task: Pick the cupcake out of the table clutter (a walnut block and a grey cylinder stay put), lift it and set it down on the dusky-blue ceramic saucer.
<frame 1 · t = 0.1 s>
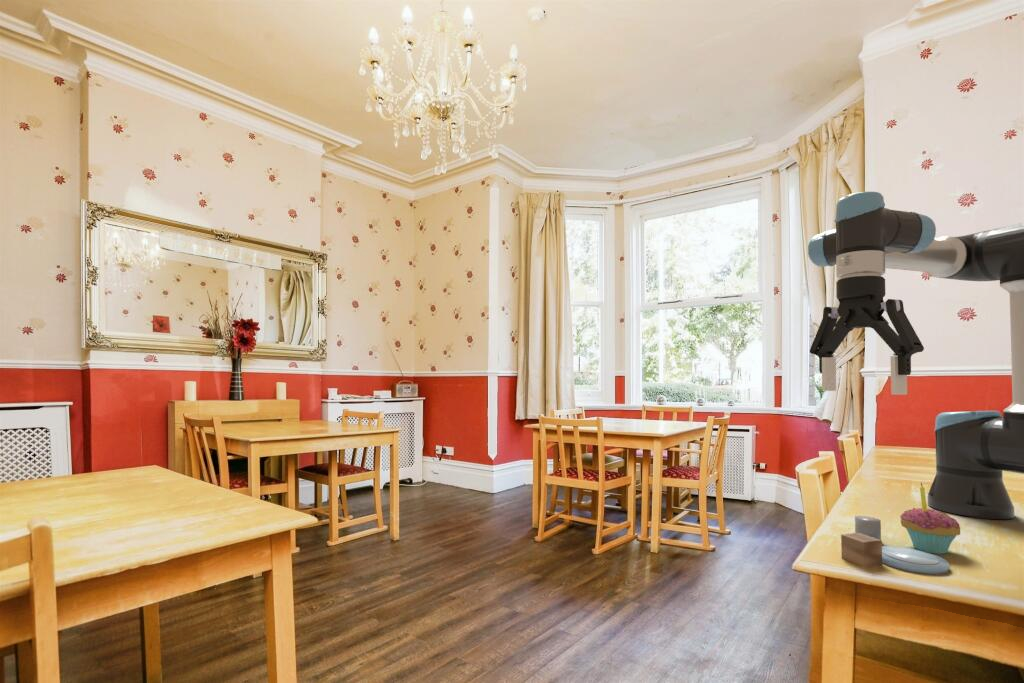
hand: (861, 392, 95), 28 cm above the table, fingers open, 13 cm apart
cupcake: (929, 550, 93), on the table
saucer: (909, 562, 86), on the table
grey cylinder: (868, 540, 97), on the table
walnut block: (861, 561, 86), on the table
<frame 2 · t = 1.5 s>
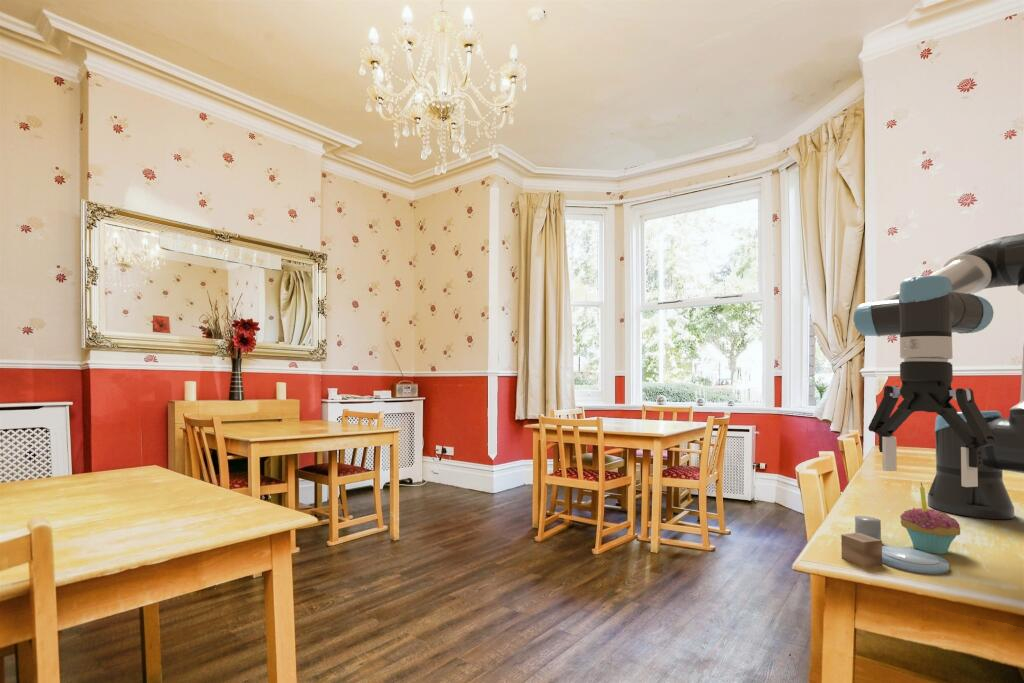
hand: (926, 478, 93), 13 cm above the table, fingers open, 13 cm apart
nothing on the table moved.
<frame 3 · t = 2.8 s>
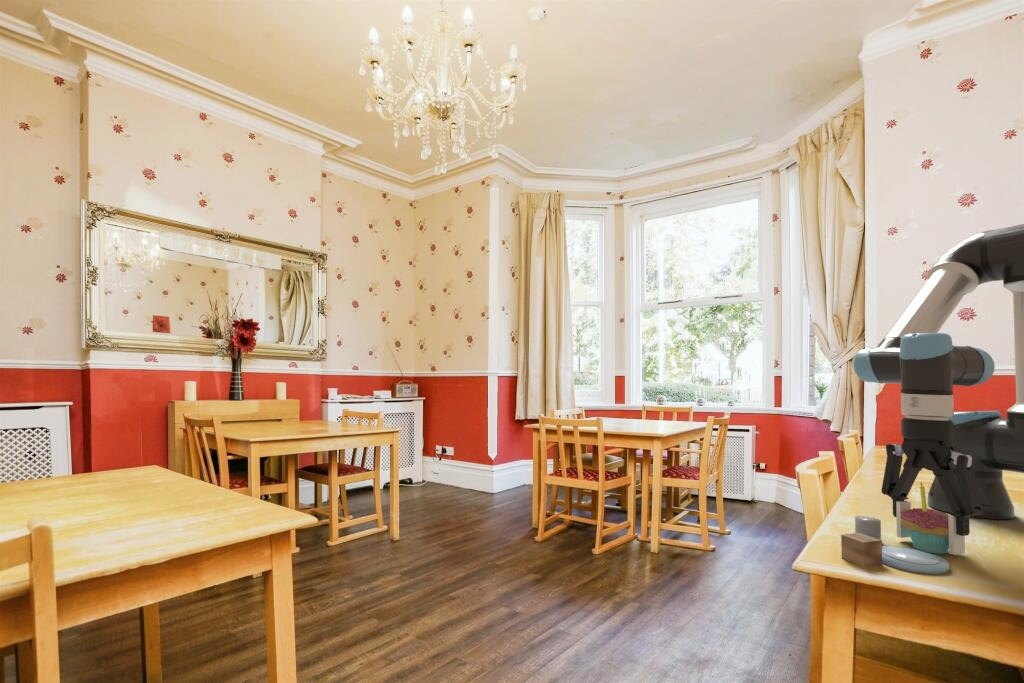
hand: (929, 544, 93), 1 cm above the table, fingers closed on cupcake, 8 cm apart
cupcake: (929, 550, 93), on the table, touching gripper
everything else where it was.
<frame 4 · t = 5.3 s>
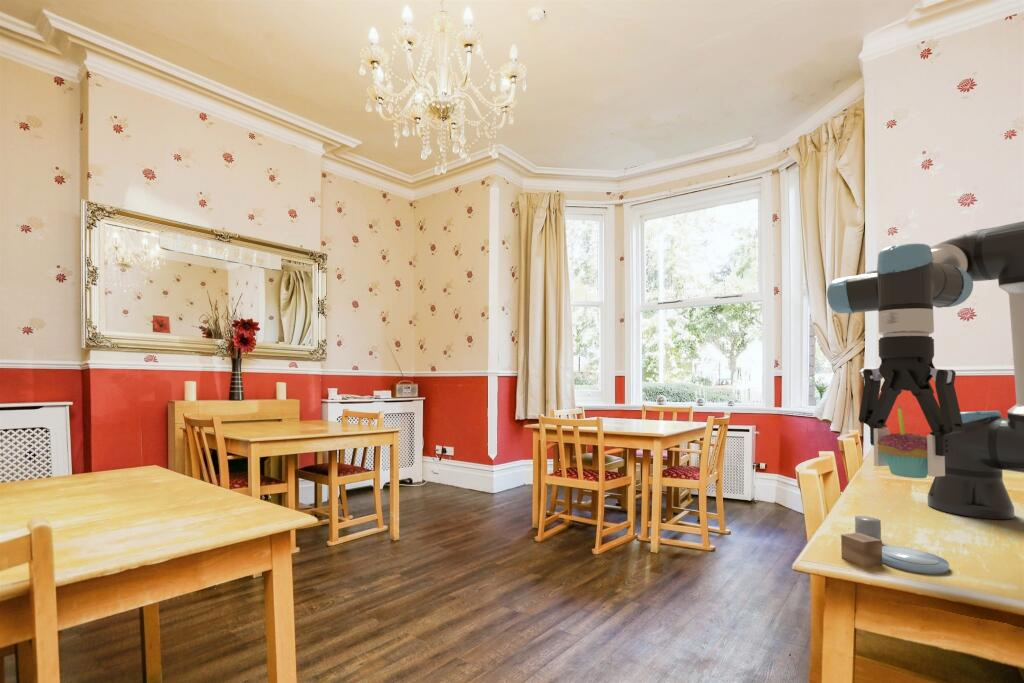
hand: (907, 470, 87), 15 cm above the table, fingers closed on cupcake, 8 cm apart
cupcake: (908, 476, 87), point 14 cm above the table, touching gripper
everything else where it was.
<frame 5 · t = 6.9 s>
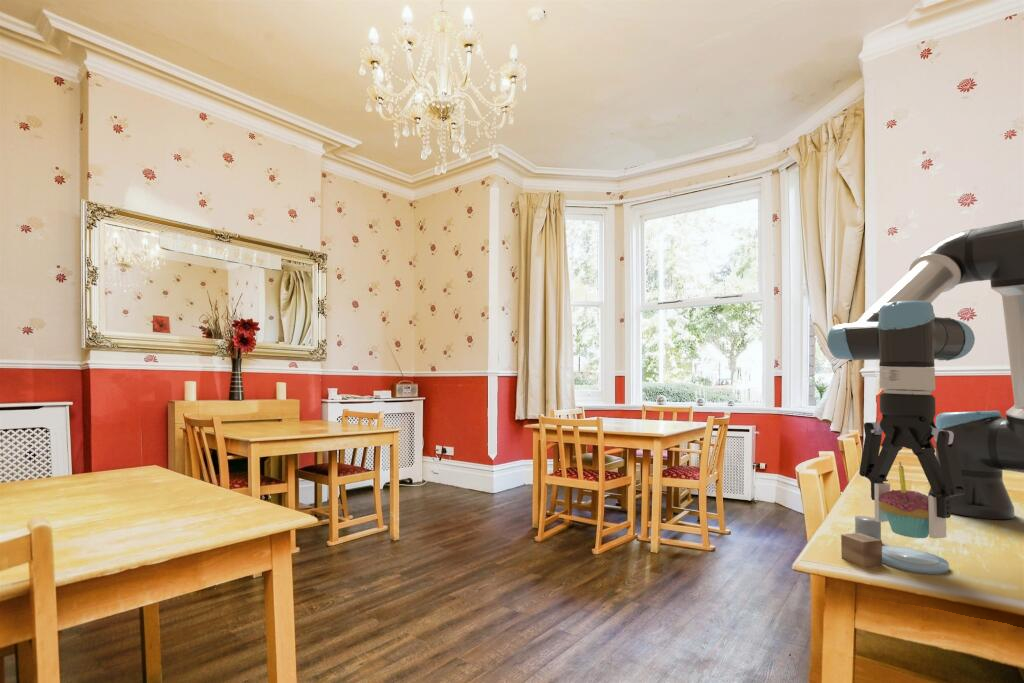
hand: (908, 528, 86), 6 cm above the table, fingers closed on cupcake, 8 cm apart
cupcake: (908, 534, 86), point 5 cm above the table, touching gripper
everything else where it was.
when the fingers open (3 cm above the table, at t = 7.9 s): cupcake drops 1 cm, resting on saucer.
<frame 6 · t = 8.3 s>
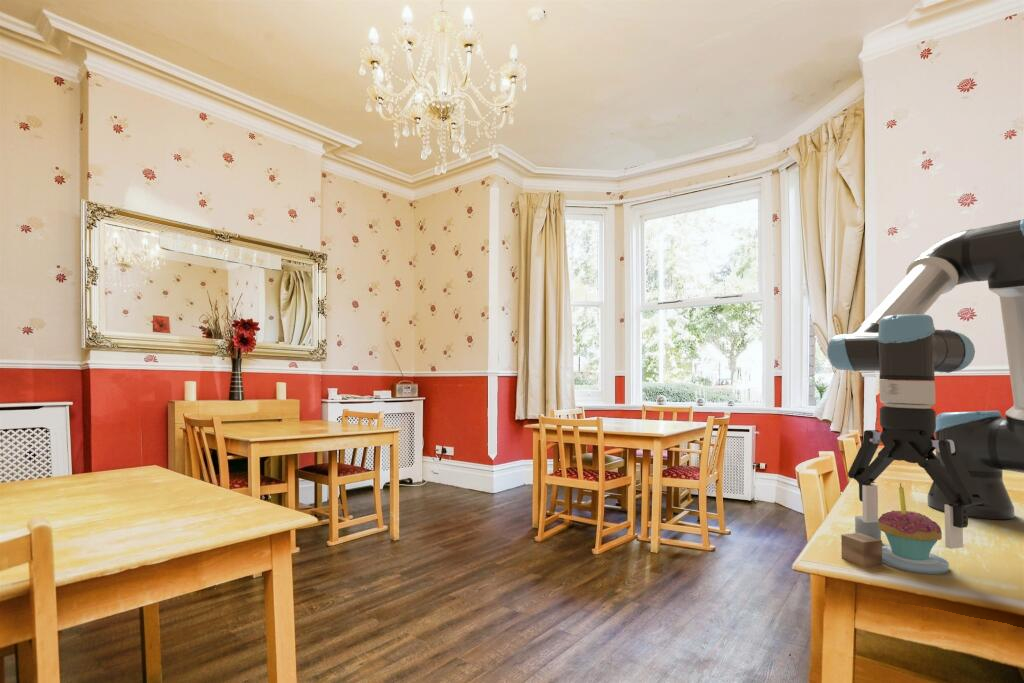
hand: (909, 533, 86), 5 cm above the table, fingers open, 13 cm apart
cupcake: (909, 555, 86), point 1 cm above the table, touching saucer
everything else where it was.
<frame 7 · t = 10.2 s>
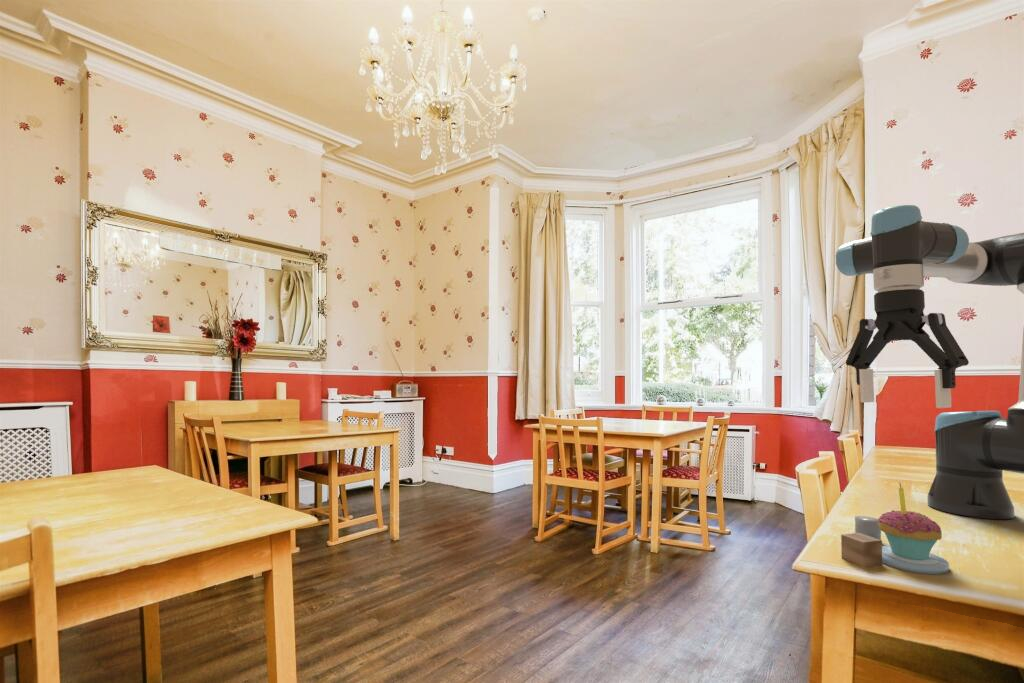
hand: (903, 404, 95), 26 cm above the table, fingers open, 13 cm apart
nothing on the table moved.
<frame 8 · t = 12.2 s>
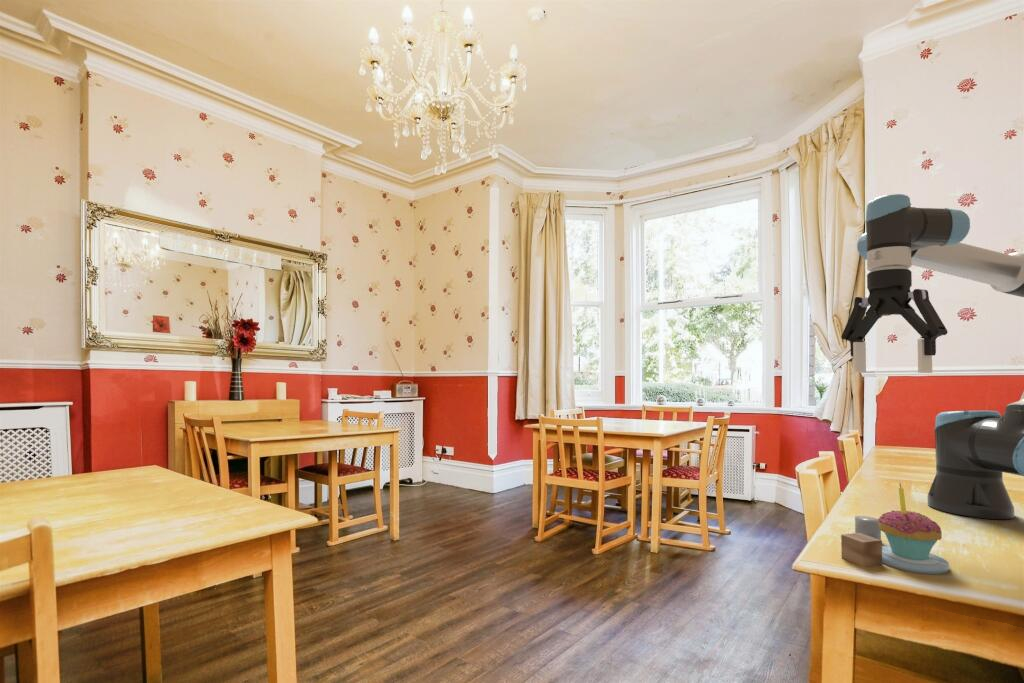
hand: (890, 372, 107), 32 cm above the table, fingers open, 13 cm apart
nothing on the table moved.
at the end: cupcake inside the target area on the saucer (0.1 cm from its centre), point 1.0 cm above the saucer's base; cupcake tilted 0°; the gripper is holding nothing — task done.
